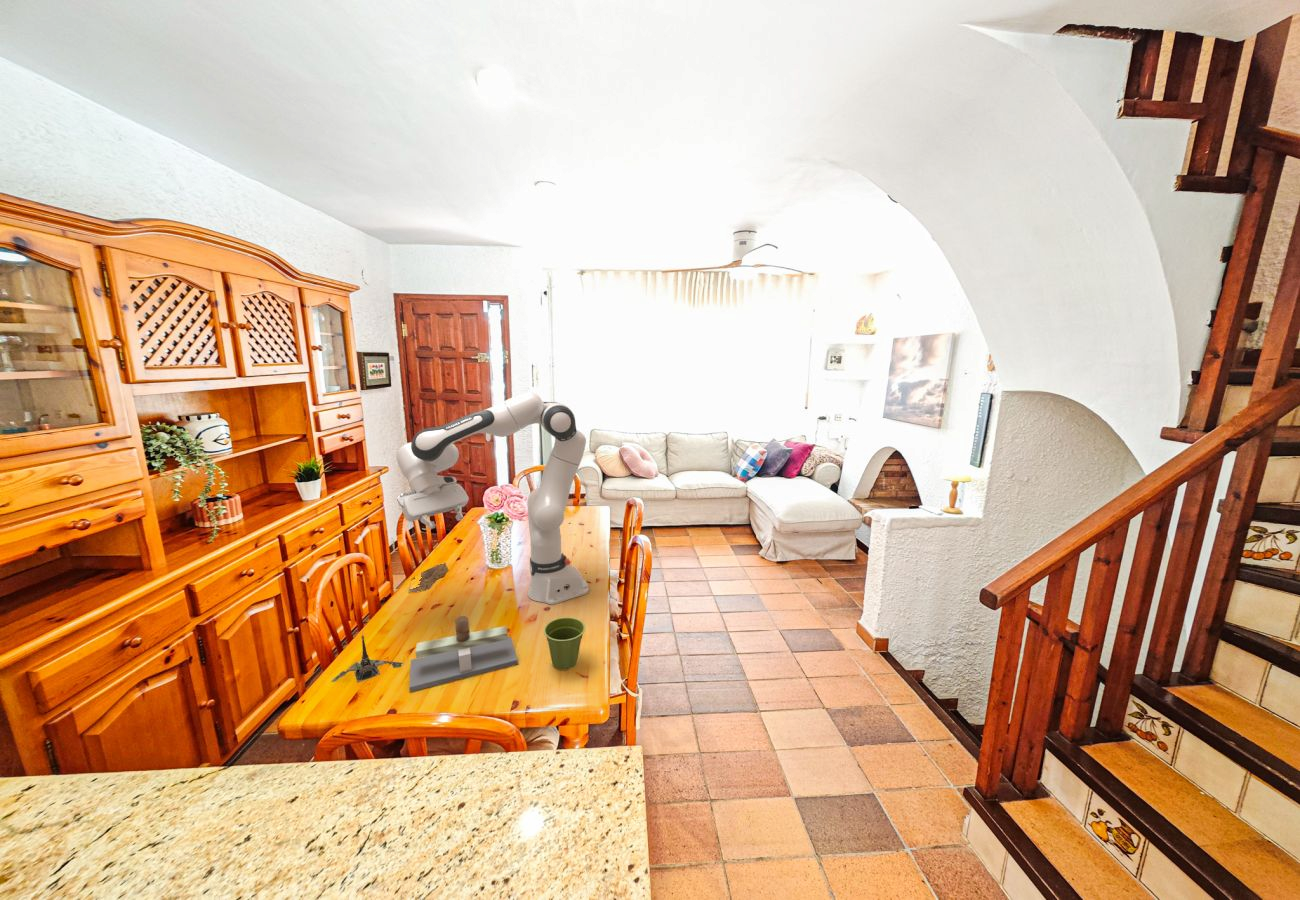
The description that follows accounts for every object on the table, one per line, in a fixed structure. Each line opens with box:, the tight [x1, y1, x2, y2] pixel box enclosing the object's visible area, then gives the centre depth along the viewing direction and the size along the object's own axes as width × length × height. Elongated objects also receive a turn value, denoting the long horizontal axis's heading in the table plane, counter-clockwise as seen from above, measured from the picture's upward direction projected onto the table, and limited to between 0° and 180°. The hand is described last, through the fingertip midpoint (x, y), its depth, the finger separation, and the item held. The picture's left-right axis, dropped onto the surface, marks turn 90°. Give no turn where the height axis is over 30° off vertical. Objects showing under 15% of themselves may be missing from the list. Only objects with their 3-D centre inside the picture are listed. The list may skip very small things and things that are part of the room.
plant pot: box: [543, 616, 586, 671], centre depth 134 cm, size 12×12×11 cm
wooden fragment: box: [408, 562, 449, 593], centre depth 183 cm, size 26×11×1 cm, turn 174°
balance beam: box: [415, 615, 509, 659], centre depth 131 cm, size 24×4×8 cm, turn 113°
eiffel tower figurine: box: [331, 632, 405, 684], centre depth 128 cm, size 15×10×13 cm
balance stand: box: [408, 636, 519, 693], centre depth 132 cm, size 28×12×6 cm, turn 115°
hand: (447, 523), depth 145 cm, fingers open, 8 cm apart
